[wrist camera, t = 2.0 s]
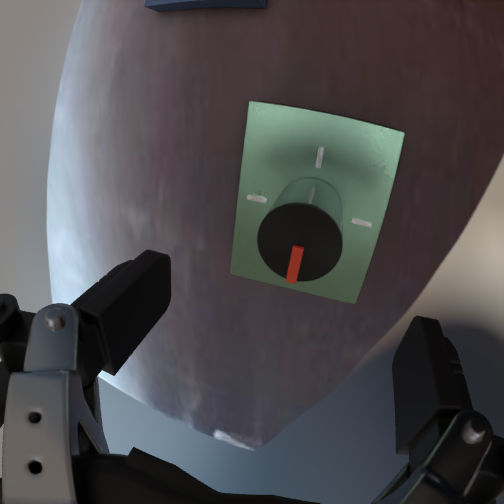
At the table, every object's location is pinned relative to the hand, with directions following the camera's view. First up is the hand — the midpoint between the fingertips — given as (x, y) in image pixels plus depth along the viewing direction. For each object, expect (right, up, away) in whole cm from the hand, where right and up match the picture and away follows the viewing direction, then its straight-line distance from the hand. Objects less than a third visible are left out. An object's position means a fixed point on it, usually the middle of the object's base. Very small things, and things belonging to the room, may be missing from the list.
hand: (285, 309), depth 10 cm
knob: (+3, +5, +11) cm, 12 cm away
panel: (+4, +6, +14) cm, 15 cm away
